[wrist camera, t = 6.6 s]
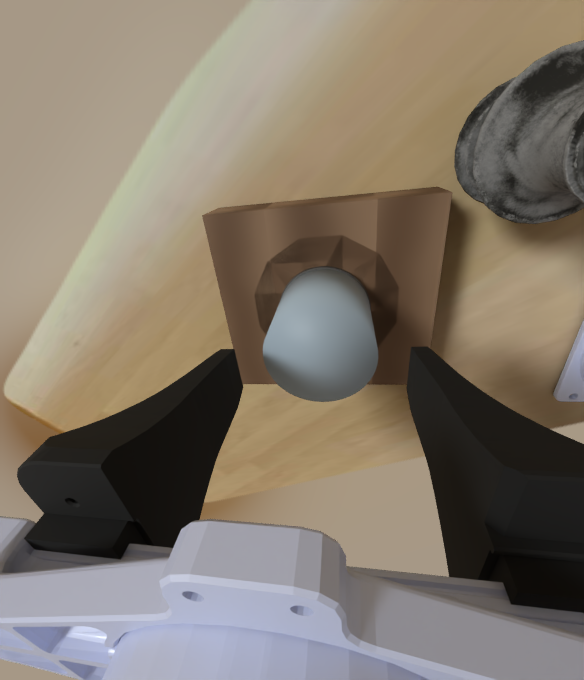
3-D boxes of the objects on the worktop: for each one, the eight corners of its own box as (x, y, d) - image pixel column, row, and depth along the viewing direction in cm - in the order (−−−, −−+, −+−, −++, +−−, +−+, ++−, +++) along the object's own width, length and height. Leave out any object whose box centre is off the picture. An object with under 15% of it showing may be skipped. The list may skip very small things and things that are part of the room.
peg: (368, 250, 18) (382, 302, 12) (366, 327, 21) (377, 403, 14) (281, 255, 19) (253, 306, 13) (290, 329, 21) (269, 401, 15)
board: (437, 186, 16) (452, 192, 14) (417, 361, 22) (425, 384, 20) (218, 208, 18) (202, 215, 16) (250, 363, 24) (241, 383, 22)
